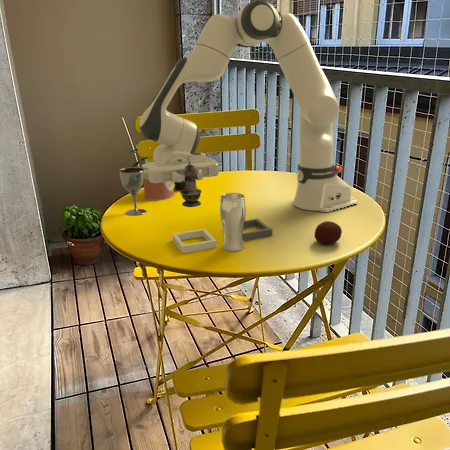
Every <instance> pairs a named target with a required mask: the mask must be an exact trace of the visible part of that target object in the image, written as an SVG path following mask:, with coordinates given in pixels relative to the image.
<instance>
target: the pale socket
mask: <svg viewBox="0 0 450 450" xmlns="http://www.w3.org/2000/svg"><path fill="white" fill-rule="evenodd" d="M171 236H172V237H171V239H172V242H173V243H174V244H175V246H176V247H177V249H178V250H179V251H180V252H181V254H186V253H187V254H188V253H193V252H197V251H198V252H199V251H203V250H204V251H205V250H209V249H215V248H217V244H218V243H217V240H216V239H215V238H214V236H213V235H212V234H211V233H209V231H208V230H207V229H206V228H201V229H194V230H188V231H182V232H175V233H172V235H171ZM201 237H203V238H204V239H205V240H204V241H199V242H194V243H188V244H185V243H184V242H183V240H184V241H185V240H190V239H197V238H201Z"/></svg>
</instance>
